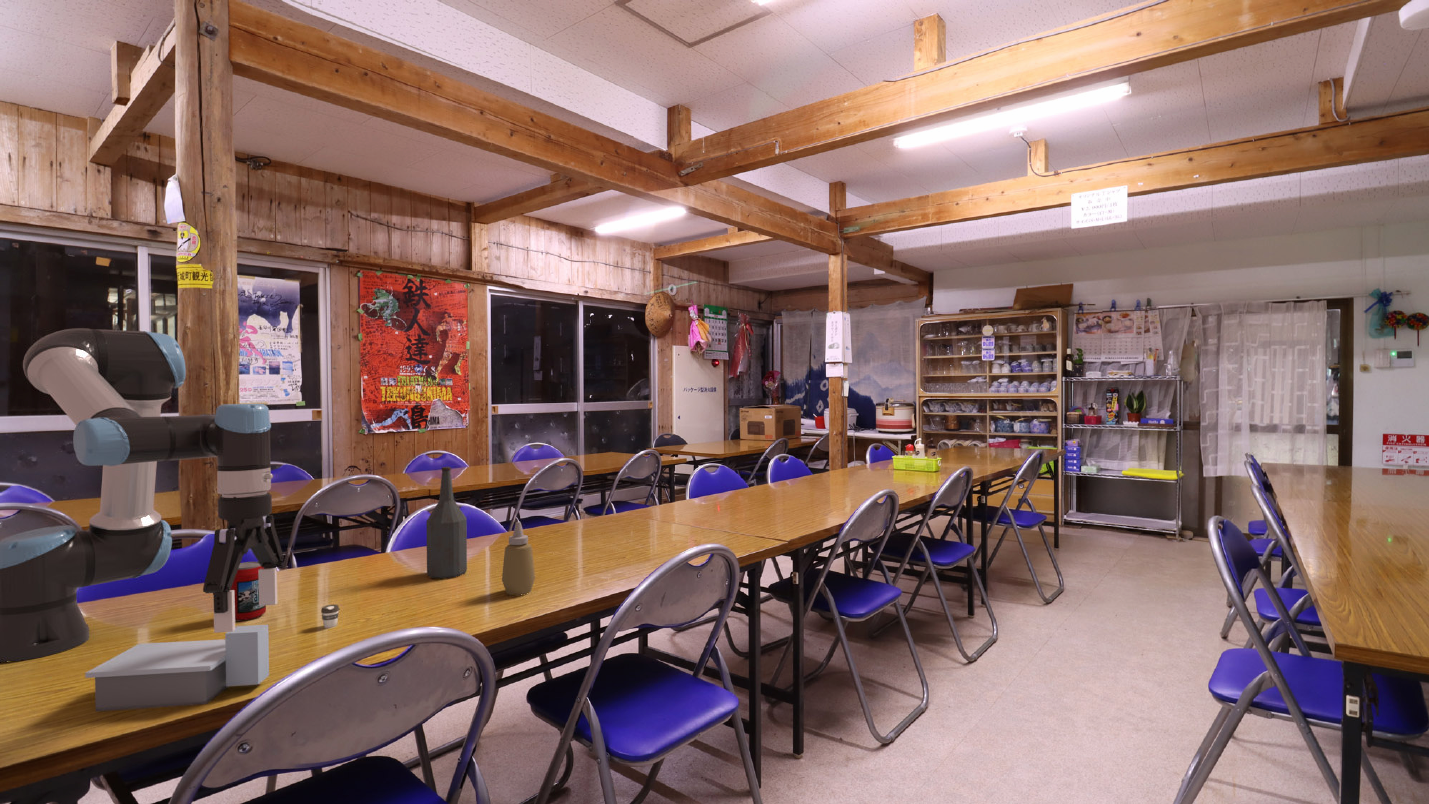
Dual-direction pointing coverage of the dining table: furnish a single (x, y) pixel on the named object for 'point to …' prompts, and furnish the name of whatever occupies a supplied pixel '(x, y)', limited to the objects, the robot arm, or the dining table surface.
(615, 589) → the dining table surface
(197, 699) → the tub
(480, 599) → the dining table surface
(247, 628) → the lid
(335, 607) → the coffee cup
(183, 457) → the robot arm
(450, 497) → the bottle
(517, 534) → the squeeze bottle
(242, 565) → the beverage can
